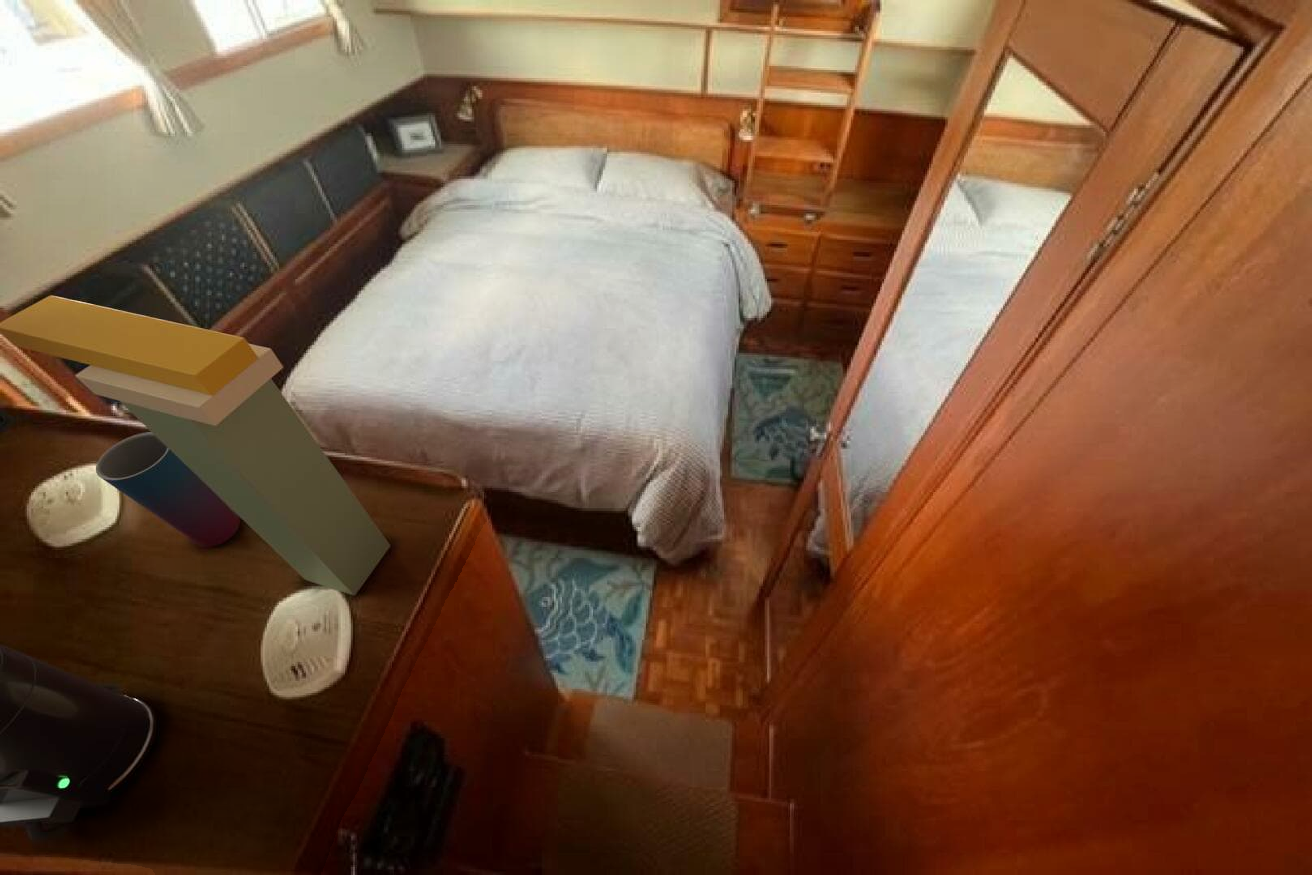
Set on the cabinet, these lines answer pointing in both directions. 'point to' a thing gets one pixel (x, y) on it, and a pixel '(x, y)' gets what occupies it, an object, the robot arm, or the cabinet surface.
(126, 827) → the cabinet surface
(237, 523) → the cup
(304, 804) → the cabinet surface
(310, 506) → the stand
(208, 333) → the yellow bar
